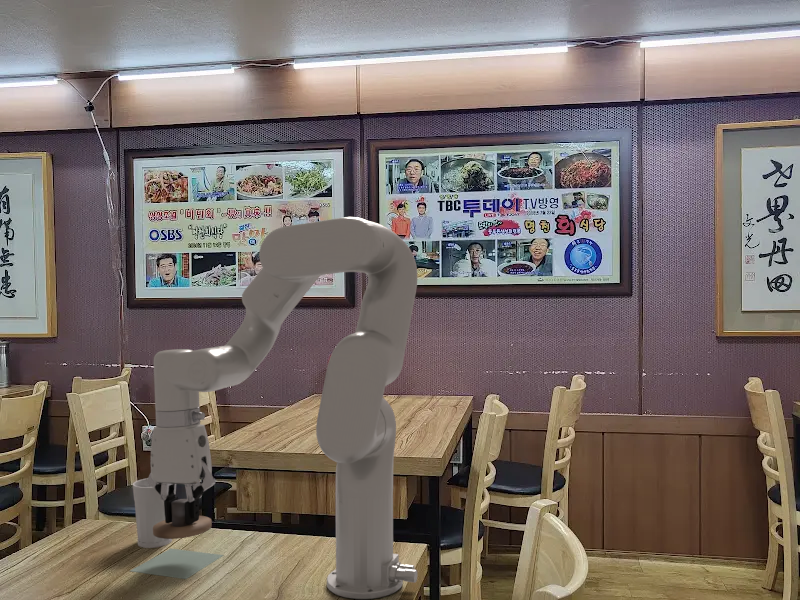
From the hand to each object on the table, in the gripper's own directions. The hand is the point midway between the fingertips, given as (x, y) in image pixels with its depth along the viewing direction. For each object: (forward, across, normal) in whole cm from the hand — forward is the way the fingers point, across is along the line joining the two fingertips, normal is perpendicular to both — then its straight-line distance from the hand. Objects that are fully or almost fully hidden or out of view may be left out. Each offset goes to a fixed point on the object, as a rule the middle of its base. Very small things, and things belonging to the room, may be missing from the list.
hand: (182, 520), depth 126 cm
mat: (+8, +1, 0) cm, 8 cm away
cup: (+8, +12, -8) cm, 16 cm away
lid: (+2, 0, 0) cm, 2 cm away
